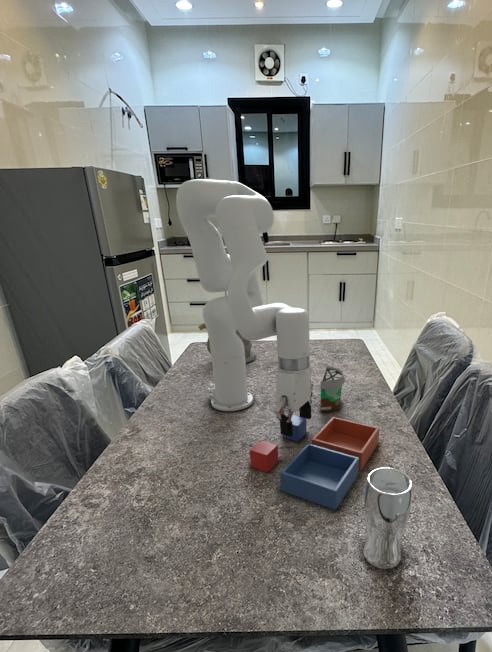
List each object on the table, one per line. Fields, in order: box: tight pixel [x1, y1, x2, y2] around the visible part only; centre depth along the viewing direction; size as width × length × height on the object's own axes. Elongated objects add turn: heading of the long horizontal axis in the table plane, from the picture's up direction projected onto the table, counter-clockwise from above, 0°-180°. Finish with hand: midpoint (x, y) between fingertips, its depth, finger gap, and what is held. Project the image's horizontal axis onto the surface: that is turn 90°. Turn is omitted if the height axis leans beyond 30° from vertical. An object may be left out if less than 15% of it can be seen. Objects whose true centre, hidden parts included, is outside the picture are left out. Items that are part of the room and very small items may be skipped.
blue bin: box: [279, 443, 359, 511], centre depth 80 cm, size 12×12×4 cm
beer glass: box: [363, 467, 413, 570], centre depth 60 cm, size 7×7×15 cm
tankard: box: [198, 322, 255, 364], centre depth 148 cm, size 20×13×15 cm, turn 94°
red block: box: [249, 440, 279, 473], centre depth 86 cm, size 4×4×4 cm
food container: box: [320, 366, 346, 413], centre depth 111 cm, size 12×6×10 cm, turn 168°
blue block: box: [282, 414, 307, 442], centre depth 97 cm, size 4×4×4 cm
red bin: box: [311, 416, 380, 471], centre depth 91 cm, size 12×12×4 cm
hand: (296, 426), depth 96 cm, fingers open, 9 cm apart
